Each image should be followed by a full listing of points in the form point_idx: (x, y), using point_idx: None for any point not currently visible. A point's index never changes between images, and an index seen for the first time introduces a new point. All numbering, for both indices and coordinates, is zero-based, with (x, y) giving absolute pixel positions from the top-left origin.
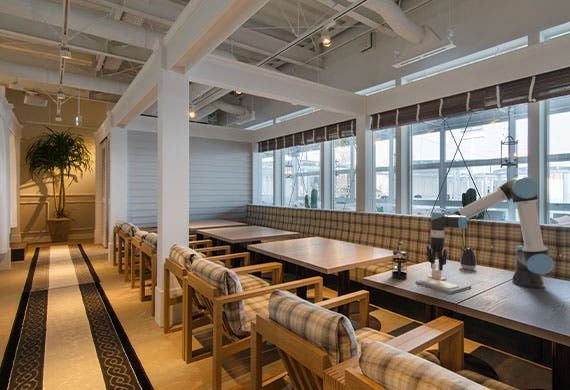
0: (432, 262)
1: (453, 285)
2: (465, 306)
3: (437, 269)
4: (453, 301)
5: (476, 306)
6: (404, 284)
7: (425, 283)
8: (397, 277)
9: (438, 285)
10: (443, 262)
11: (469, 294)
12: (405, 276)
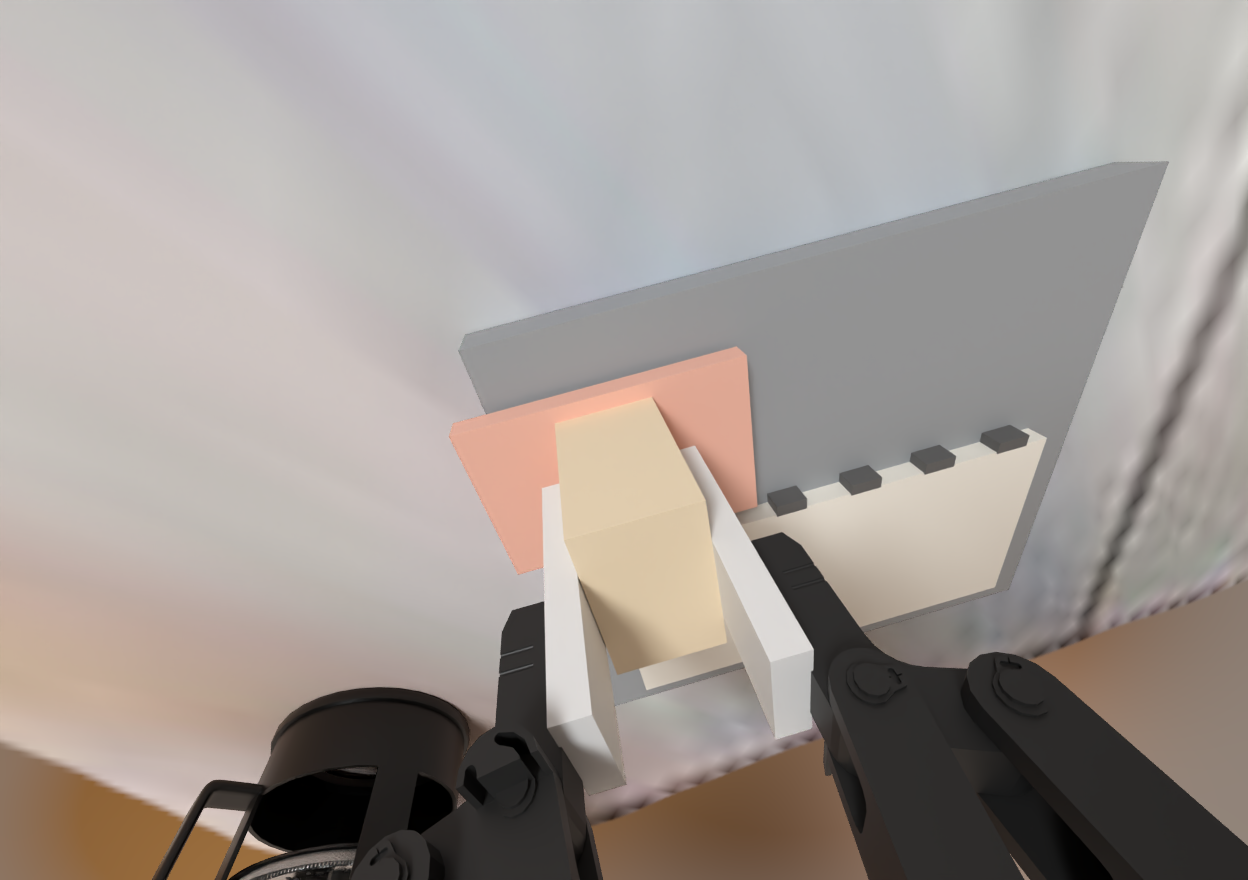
0: (593, 843)
1: (990, 495)
2: (1140, 615)
3: (699, 606)
4: (1054, 631)
5: (1208, 559)
6: None
7: (725, 667)
8: (440, 791)
9: (866, 620)
10: (1066, 830)
11: (1130, 416)
12: (450, 754)
